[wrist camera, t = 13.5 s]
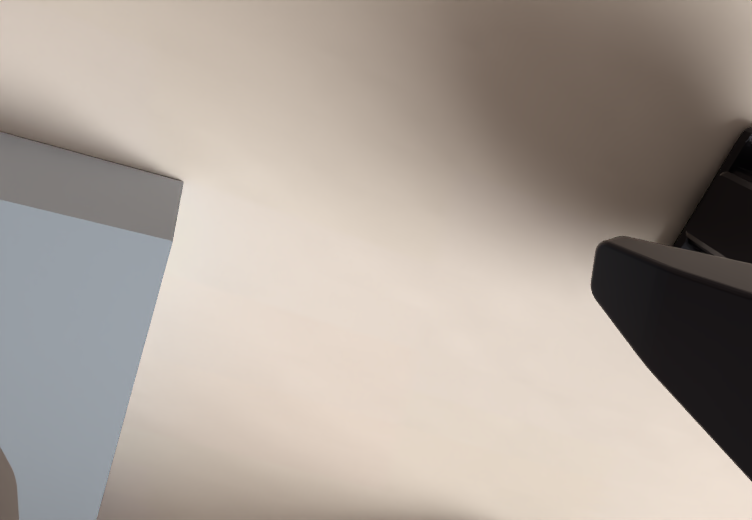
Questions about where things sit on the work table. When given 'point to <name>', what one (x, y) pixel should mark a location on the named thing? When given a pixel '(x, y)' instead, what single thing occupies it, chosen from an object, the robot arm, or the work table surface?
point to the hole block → (73, 314)
